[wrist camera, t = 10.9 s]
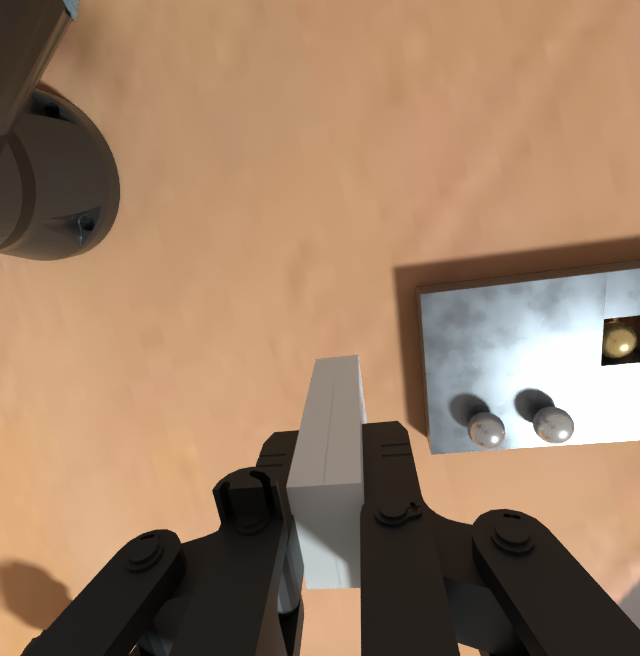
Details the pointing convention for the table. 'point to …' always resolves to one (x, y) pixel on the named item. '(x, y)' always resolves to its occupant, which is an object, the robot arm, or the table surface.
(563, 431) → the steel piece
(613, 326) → the brass ball
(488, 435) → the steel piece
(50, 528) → the table surface
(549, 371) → the hole plate
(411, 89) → the table surface
